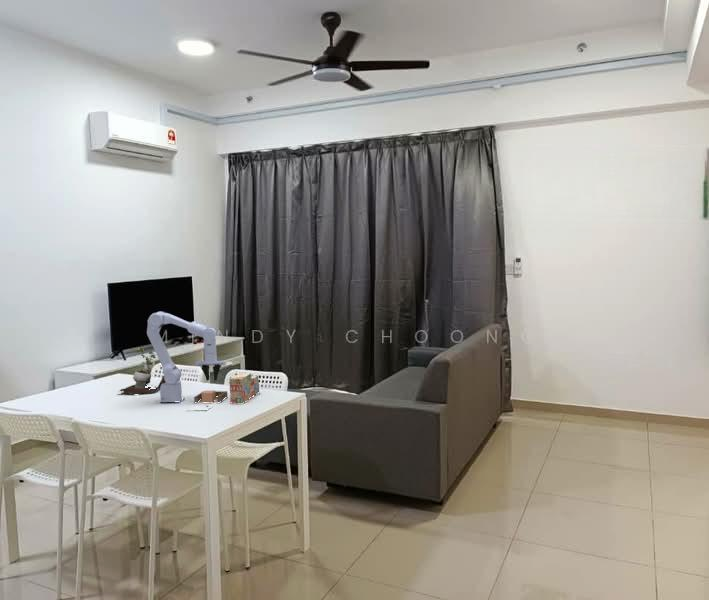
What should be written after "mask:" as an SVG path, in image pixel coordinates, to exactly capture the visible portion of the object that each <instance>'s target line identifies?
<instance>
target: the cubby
mask: <svg viewBox="0 0 709 600" xmlns="http://www.w3.org/2000/svg"><path fill="white" fill-rule="evenodd" d="M204 391H205V390H204ZM204 391H201V392H200V393H198V394H197V395H195V396H194V397H193V398H194V403H195V402H198V401H199V400H200V399H202V393H203V392H204ZM214 391H215V392H216V396H218V397H217V398H216V402H220V401H222V400H223V399H224V398H225V397H227V398H228V390H226V391H225V390H219V391H217V390H214ZM223 401H224V400H223ZM223 401H222V402H223ZM198 403H199V402H198Z"/></svg>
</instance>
